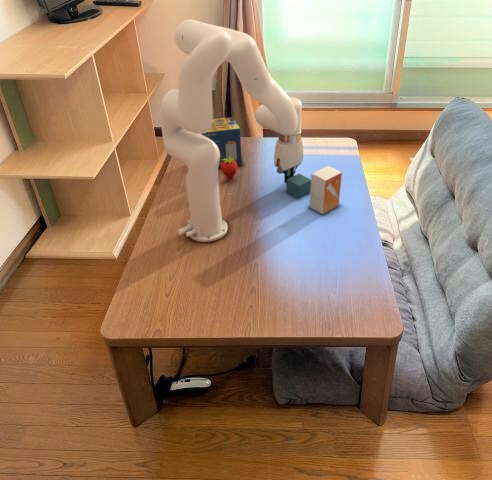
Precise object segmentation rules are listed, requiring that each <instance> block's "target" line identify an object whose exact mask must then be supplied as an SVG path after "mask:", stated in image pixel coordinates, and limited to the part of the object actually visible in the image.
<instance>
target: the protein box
mask: <svg viewBox="0 0 492 480" xmlns="http://www.w3.org/2000/svg"><path fill="white" fill-rule="evenodd" d="M236 120H237V119H236V118H235V116H228V117H221V118H220V117H219V118H213V121H212V126H211V128H210V129H209V131H208V132H206V133H203V134H201V135H203V136H205V137H207V138H209V139H210V140H212V141H213V142H214V143H215V144H216V145H217V147H218V148H219V152H220V160H219V167H218V170H220V169H221V163H222V162H223V161H224V160H221V159H224V158H226V159H228V158H229V157H230V156H231V158H232V159H235V161H236V163H237V167H241V166H243V161H242V141H241V139H242V138H241V137H242V136H241V127H240V126H239V124H238V122H237V121H236ZM228 156H229V157H228Z"/></svg>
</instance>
